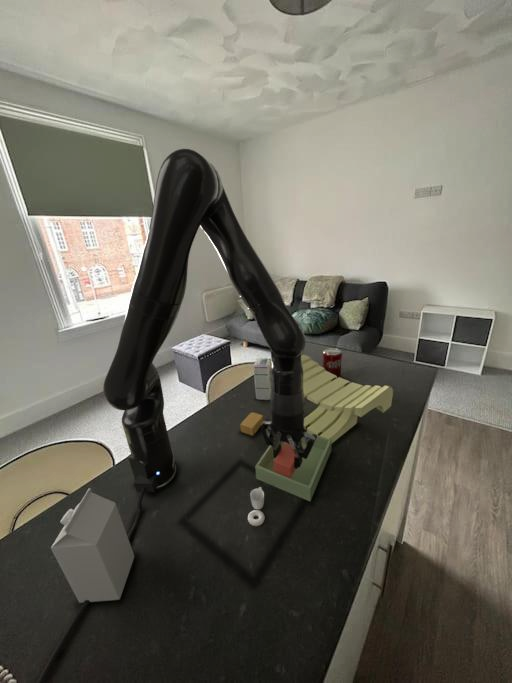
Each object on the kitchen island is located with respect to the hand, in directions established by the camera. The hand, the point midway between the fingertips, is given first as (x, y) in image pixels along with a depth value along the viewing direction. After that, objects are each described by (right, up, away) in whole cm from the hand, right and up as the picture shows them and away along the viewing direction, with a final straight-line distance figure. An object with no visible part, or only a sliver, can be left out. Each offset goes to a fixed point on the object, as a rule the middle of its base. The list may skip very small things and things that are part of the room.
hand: (287, 462), depth 69 cm
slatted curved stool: (+15, +4, +19) cm, 25 cm away
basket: (+3, -3, +5) cm, 6 cm away
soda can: (+23, +15, +46) cm, 53 cm away
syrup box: (-5, +9, +37) cm, 38 cm away
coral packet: (0, -1, 0) cm, 1 cm away
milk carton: (-35, -15, -17) cm, 42 cm away
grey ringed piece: (-10, -9, -6) cm, 15 cm away
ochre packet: (-9, +2, +20) cm, 22 cm away
